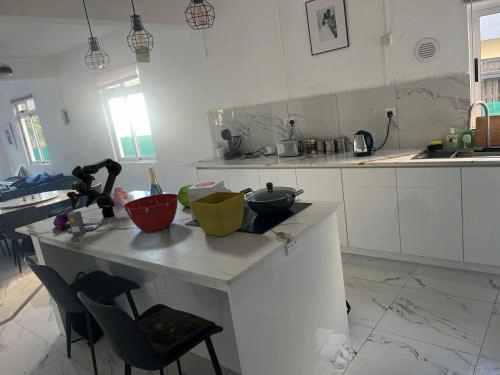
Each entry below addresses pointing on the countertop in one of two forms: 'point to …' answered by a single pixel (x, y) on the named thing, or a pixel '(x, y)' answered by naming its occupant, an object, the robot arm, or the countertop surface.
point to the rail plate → (89, 226)
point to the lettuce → (184, 196)
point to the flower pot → (219, 212)
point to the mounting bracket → (61, 220)
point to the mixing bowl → (153, 211)
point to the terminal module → (76, 223)
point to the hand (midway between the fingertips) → (79, 207)
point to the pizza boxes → (204, 191)
